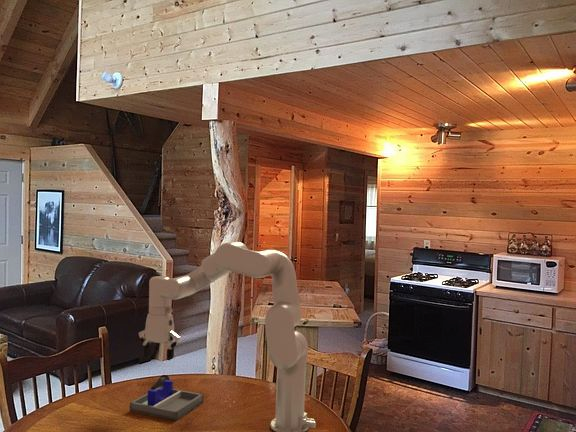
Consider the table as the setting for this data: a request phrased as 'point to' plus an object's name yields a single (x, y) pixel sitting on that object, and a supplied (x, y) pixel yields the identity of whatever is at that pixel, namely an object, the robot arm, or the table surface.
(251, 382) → the table surface
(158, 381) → the electric trimmer
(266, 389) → the table surface
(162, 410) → the organiser tray
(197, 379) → the table surface
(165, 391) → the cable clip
